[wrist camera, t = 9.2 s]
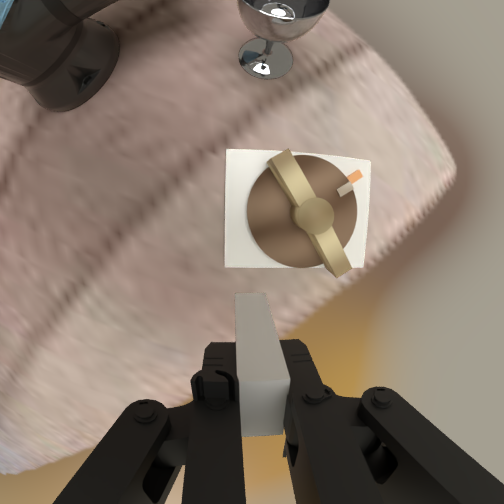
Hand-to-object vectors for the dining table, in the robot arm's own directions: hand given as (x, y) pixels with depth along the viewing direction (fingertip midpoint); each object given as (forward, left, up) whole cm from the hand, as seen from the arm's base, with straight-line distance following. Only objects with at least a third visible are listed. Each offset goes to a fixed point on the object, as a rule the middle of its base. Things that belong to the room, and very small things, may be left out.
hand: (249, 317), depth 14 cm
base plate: (-4, +7, -21) cm, 22 cm away
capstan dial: (-4, +7, -19) cm, 21 cm away
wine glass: (-25, +3, -21) cm, 32 cm away
